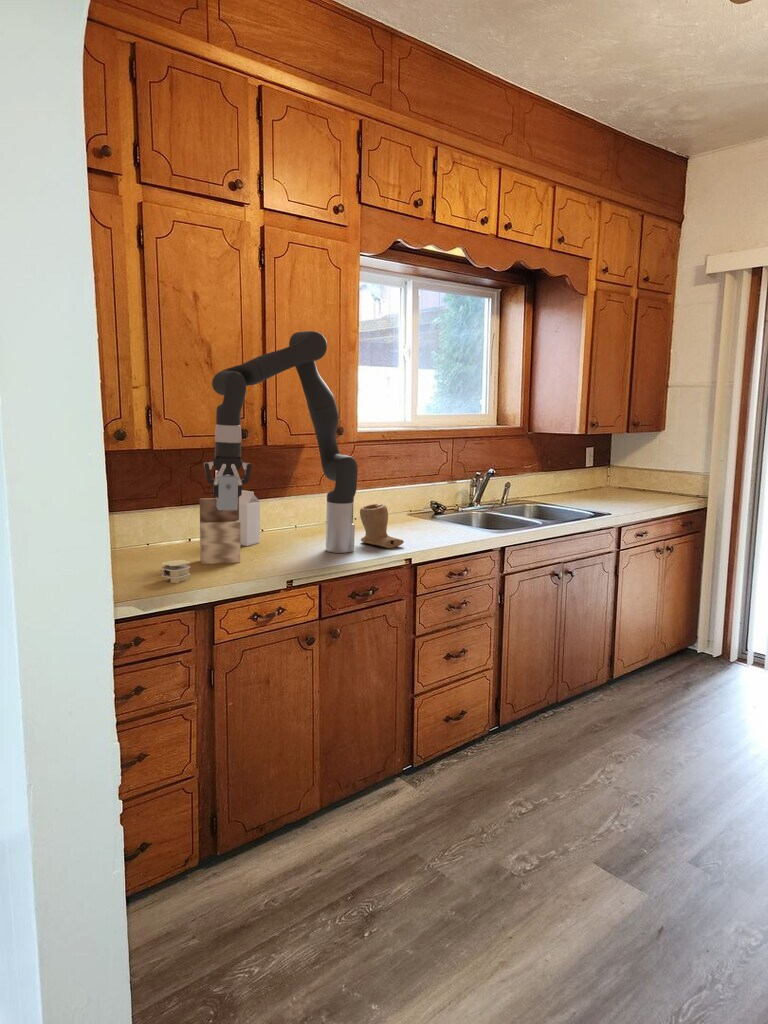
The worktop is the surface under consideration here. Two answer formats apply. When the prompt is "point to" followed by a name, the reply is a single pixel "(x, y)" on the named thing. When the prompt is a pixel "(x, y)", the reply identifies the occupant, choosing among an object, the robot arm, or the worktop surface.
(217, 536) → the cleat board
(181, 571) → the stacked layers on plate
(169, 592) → the worktop surface
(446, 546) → the worktop surface
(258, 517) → the milk carton
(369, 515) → the tan boot vase
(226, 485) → the blue-grey block
